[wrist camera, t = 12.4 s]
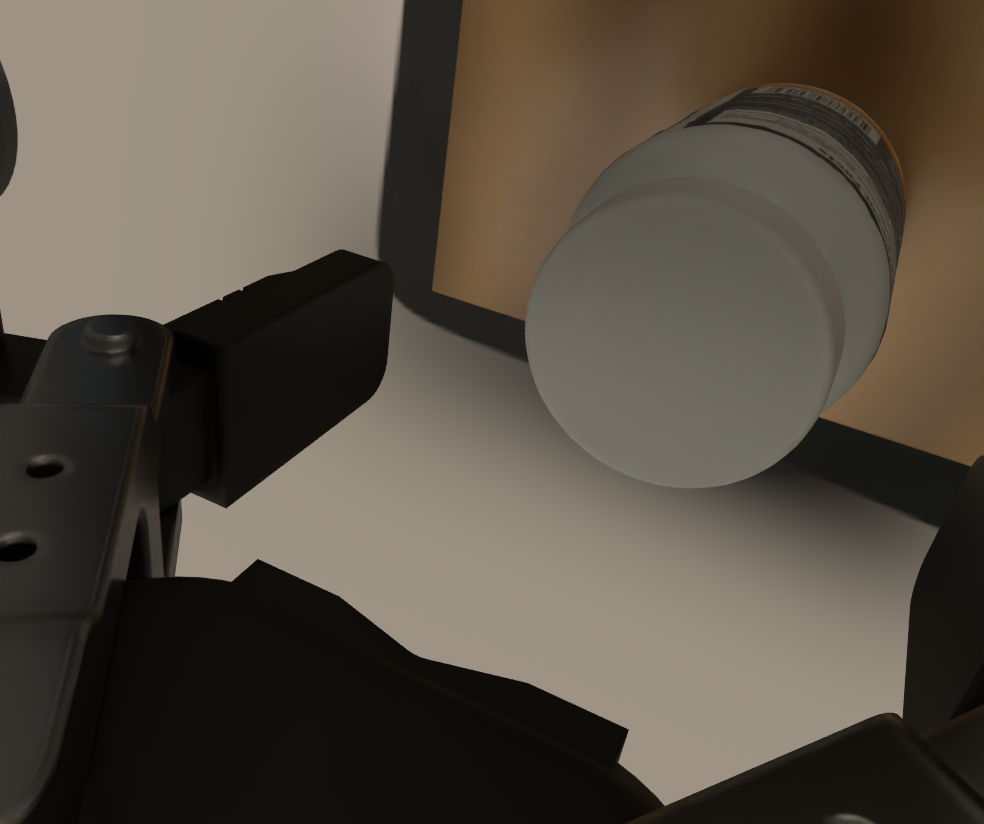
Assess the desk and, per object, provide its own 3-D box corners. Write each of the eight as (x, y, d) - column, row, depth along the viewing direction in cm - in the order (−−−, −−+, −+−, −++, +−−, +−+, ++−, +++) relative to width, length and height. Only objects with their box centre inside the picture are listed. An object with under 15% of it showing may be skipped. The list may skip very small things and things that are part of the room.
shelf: (527, 230, 32) (431, 291, 26) (577, -82, 27) (471, -92, 21) (1069, 388, 27) (1098, 508, 21) (1261, 32, 21) (1371, 62, 16)
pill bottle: (722, 350, 23) (597, 558, 15) (620, 152, 22) (429, 265, 14) (951, 260, 20) (942, 465, 12) (845, 24, 19) (757, 76, 11)
